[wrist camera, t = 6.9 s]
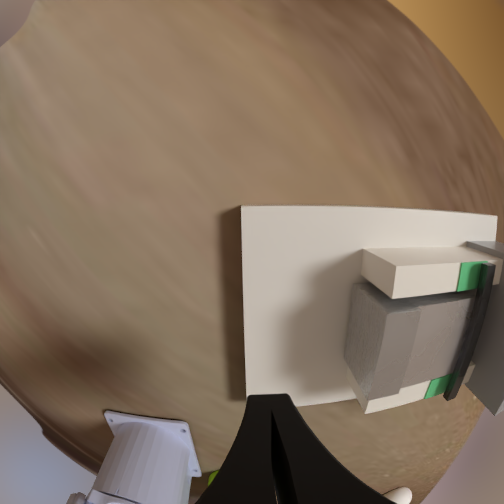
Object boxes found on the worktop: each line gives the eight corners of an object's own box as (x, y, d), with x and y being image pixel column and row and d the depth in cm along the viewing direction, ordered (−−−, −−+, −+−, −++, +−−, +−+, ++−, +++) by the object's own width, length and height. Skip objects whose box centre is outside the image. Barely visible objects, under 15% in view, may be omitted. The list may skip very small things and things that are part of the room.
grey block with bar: (454, 247, 15) (501, 264, 11) (429, 362, 17) (460, 395, 13) (355, 249, 15) (395, 272, 10) (339, 380, 17) (360, 427, 12)
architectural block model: (485, 214, 17) (572, 233, 7) (455, 361, 20) (511, 416, 10) (241, 205, 16) (236, 223, 7) (246, 396, 19) (249, 501, 10)
